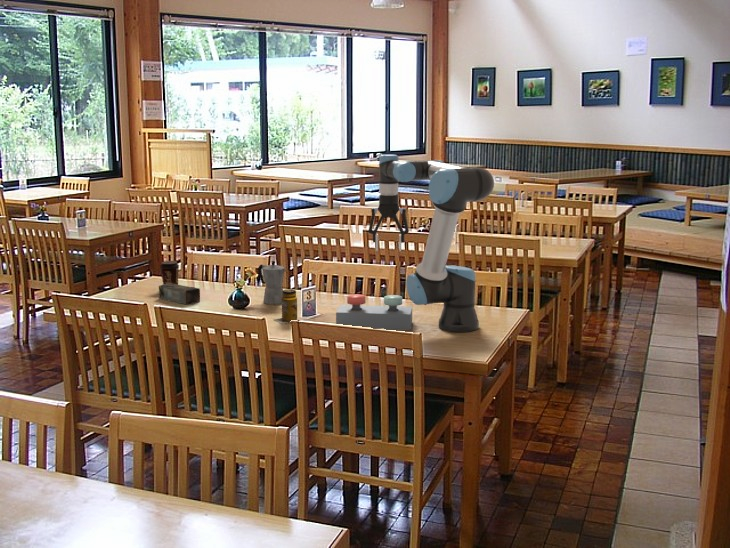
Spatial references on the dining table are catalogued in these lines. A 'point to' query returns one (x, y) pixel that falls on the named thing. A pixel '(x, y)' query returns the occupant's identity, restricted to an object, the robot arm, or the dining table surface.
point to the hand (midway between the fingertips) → (388, 250)
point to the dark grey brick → (179, 293)
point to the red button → (356, 300)
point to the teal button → (393, 301)
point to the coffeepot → (272, 282)
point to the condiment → (288, 306)
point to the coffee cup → (169, 272)
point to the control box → (375, 317)
